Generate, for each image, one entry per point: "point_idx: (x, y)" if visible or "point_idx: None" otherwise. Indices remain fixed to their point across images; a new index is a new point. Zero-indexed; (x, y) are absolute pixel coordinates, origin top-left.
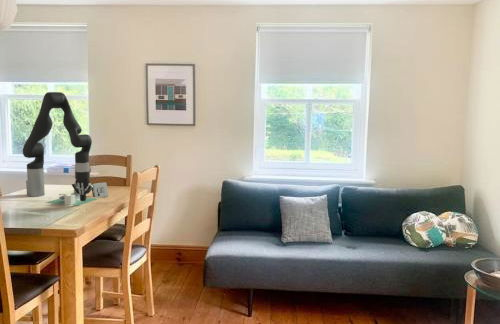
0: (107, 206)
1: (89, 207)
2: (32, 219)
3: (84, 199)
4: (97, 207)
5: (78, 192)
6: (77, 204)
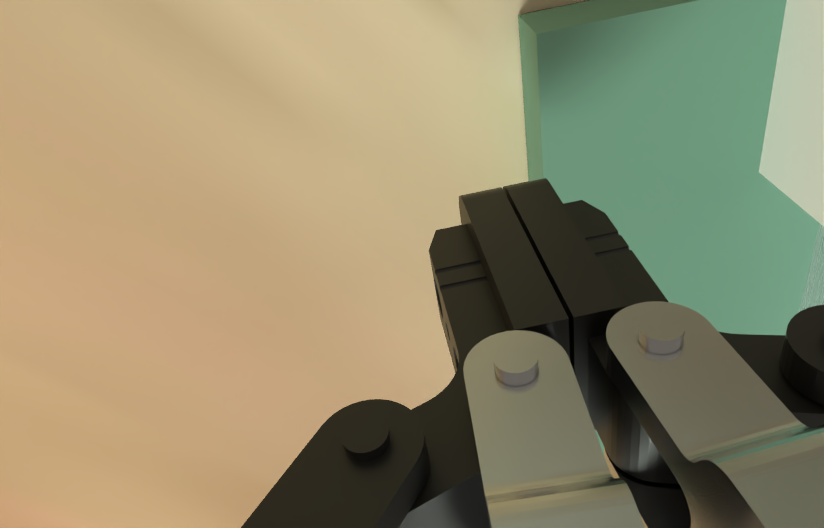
0: (40, 430)
1: (289, 191)
2: None
3: (430, 254)
4: (126, 282)
5: (786, 351)
6: (646, 124)
